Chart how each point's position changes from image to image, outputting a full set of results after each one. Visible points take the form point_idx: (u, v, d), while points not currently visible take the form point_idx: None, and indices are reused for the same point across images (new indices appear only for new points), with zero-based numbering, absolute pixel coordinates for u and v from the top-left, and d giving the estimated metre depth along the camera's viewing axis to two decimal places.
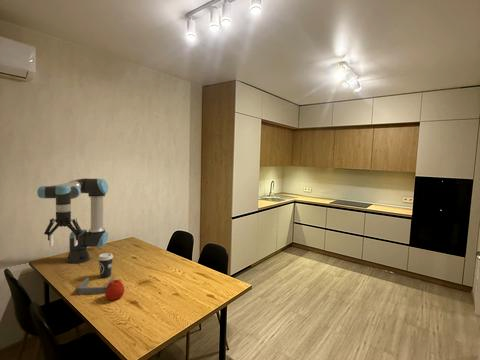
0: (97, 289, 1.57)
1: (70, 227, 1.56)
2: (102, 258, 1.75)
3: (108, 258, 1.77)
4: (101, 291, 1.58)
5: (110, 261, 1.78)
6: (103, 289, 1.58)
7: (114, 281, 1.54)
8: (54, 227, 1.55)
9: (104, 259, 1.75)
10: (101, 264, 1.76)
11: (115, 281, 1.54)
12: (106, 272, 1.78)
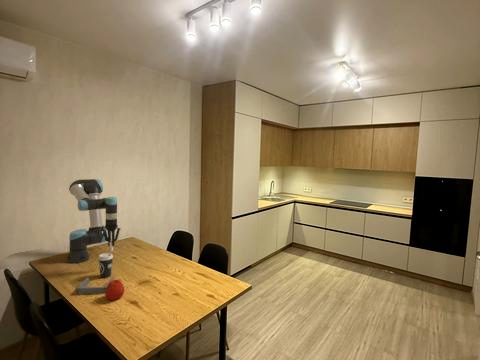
0: (97, 289, 1.57)
1: (113, 233, 1.88)
2: (102, 258, 1.75)
3: (108, 258, 1.77)
4: (101, 291, 1.58)
5: (110, 261, 1.78)
6: (103, 289, 1.58)
7: (114, 281, 1.54)
8: (108, 234, 1.88)
9: (104, 259, 1.75)
10: (101, 264, 1.76)
11: (115, 281, 1.54)
12: (106, 272, 1.78)
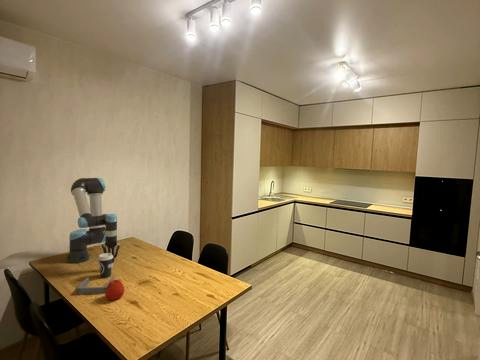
0: (97, 289, 1.57)
1: (112, 250, 1.89)
2: (102, 258, 1.75)
3: (108, 258, 1.77)
4: (101, 291, 1.58)
5: (110, 261, 1.78)
6: (103, 289, 1.58)
7: (114, 281, 1.54)
8: (108, 250, 1.89)
9: (104, 259, 1.75)
10: (101, 264, 1.76)
11: (115, 281, 1.54)
12: (106, 272, 1.78)
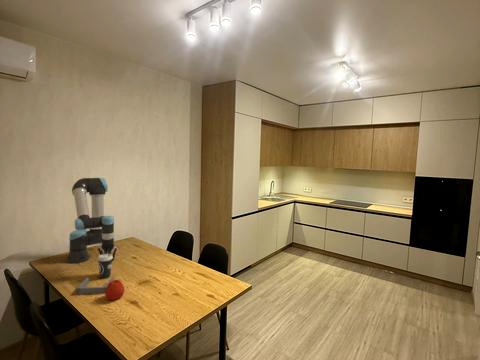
0: (97, 289, 1.57)
1: None
2: (102, 259, 1.74)
3: (108, 259, 1.76)
4: (101, 291, 1.58)
5: (110, 262, 1.77)
6: (103, 289, 1.58)
7: (114, 281, 1.54)
8: None
9: (104, 260, 1.74)
10: (101, 265, 1.75)
11: (115, 281, 1.54)
12: (106, 273, 1.77)
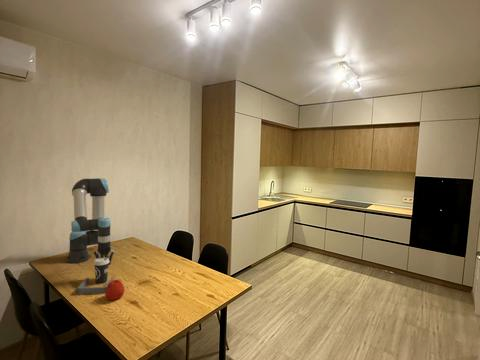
0: (97, 289, 1.57)
1: None
2: (98, 263, 1.67)
3: (104, 263, 1.69)
4: (101, 291, 1.58)
5: (106, 266, 1.71)
6: (103, 289, 1.58)
7: (114, 281, 1.54)
8: None
9: (100, 264, 1.68)
10: (97, 269, 1.68)
11: (115, 281, 1.54)
12: (103, 277, 1.70)
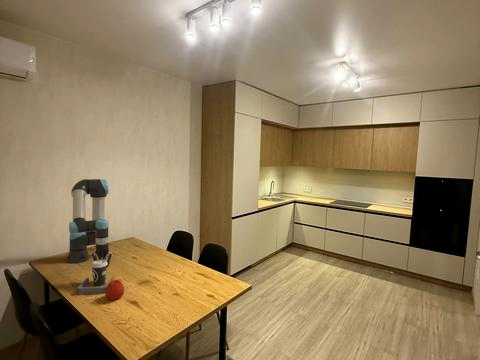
0: (97, 289, 1.57)
1: (104, 259, 1.72)
2: (96, 265, 1.64)
3: (102, 265, 1.65)
4: (101, 291, 1.58)
5: (104, 268, 1.67)
6: (103, 289, 1.58)
7: (114, 281, 1.54)
8: None
9: (98, 266, 1.64)
10: (95, 271, 1.64)
11: (115, 281, 1.54)
12: (100, 280, 1.66)
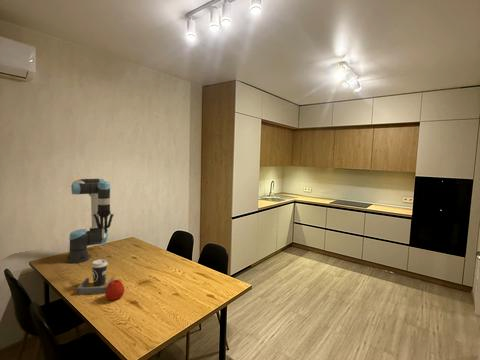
0: (97, 289, 1.57)
1: (105, 220, 1.79)
2: (96, 265, 1.64)
3: (102, 265, 1.66)
4: (101, 291, 1.58)
5: (104, 268, 1.67)
6: (103, 289, 1.58)
7: (114, 281, 1.54)
8: (100, 220, 1.79)
9: (98, 266, 1.64)
10: (95, 271, 1.64)
11: (115, 281, 1.54)
12: (100, 280, 1.66)
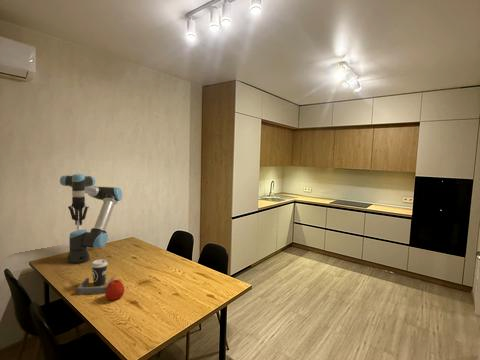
0: (97, 289, 1.57)
1: (80, 212, 1.82)
2: (96, 265, 1.64)
3: (102, 265, 1.66)
4: (101, 291, 1.58)
5: (104, 268, 1.67)
6: (103, 289, 1.58)
7: (114, 281, 1.54)
8: (75, 212, 1.82)
9: (98, 266, 1.64)
10: (95, 271, 1.64)
11: (115, 281, 1.54)
12: (100, 280, 1.66)
